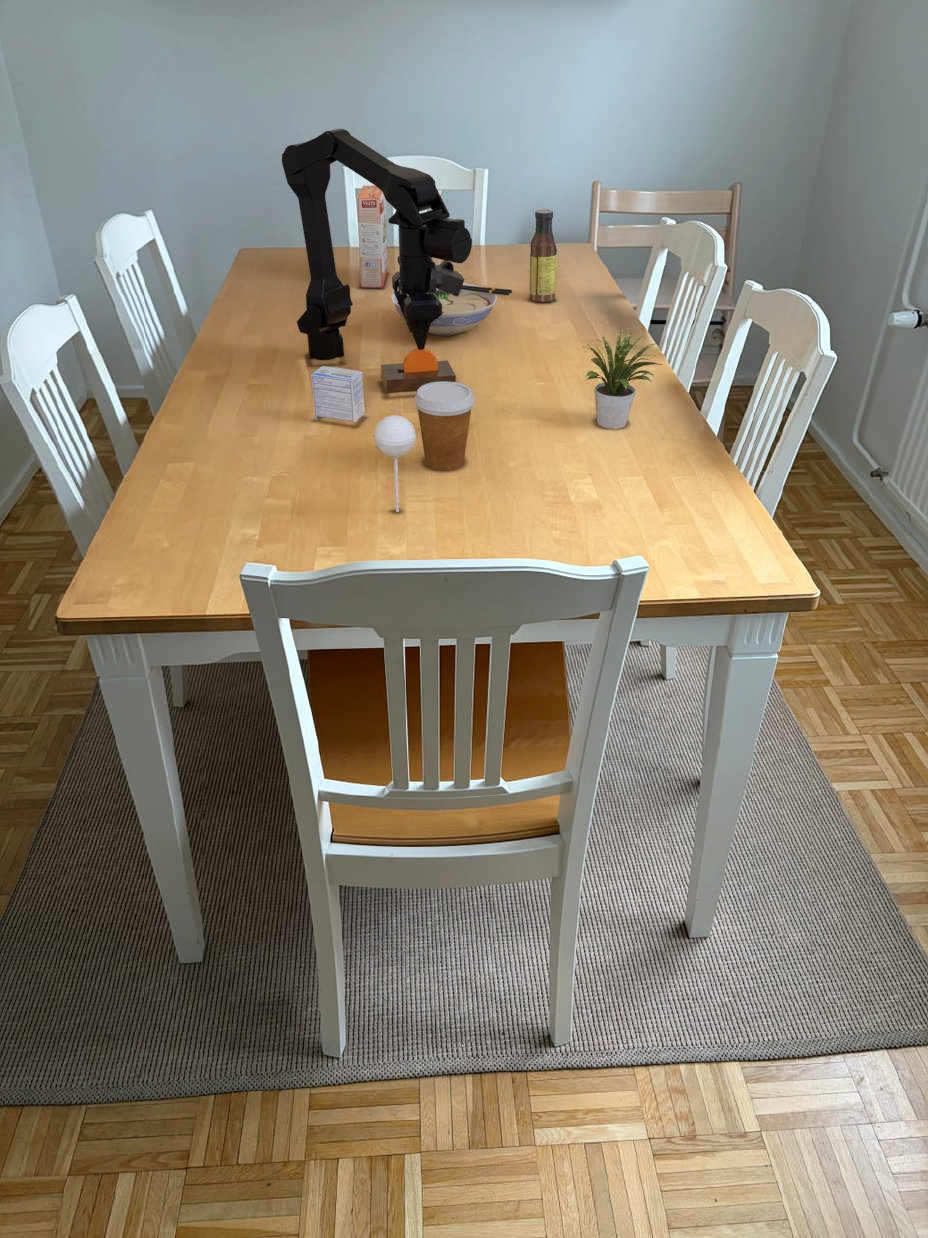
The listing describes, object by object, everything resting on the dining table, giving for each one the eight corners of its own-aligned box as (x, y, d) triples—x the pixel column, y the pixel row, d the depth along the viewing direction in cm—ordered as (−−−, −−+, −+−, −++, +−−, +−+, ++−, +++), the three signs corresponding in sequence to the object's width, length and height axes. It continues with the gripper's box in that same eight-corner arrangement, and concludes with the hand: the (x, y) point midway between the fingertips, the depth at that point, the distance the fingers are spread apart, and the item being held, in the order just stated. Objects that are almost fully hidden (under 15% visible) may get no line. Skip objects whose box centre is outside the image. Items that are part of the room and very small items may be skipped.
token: (401, 382, 179) (406, 348, 175) (400, 379, 180) (405, 346, 176) (435, 385, 181) (440, 351, 177) (434, 382, 182) (439, 349, 178)
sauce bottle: (559, 298, 227) (565, 209, 216) (547, 305, 223) (552, 215, 211) (535, 293, 230) (540, 206, 218) (523, 300, 226) (527, 211, 214)
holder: (387, 398, 177) (386, 380, 175) (381, 382, 183) (380, 364, 181) (455, 393, 179) (455, 375, 177) (447, 377, 185) (447, 360, 183)
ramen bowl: (369, 339, 203) (367, 300, 198) (413, 308, 220) (413, 272, 215) (478, 355, 195) (479, 316, 190) (515, 322, 212) (517, 285, 208)
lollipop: (377, 501, 144) (373, 408, 135) (416, 500, 144) (414, 407, 136) (377, 522, 139) (373, 426, 130) (418, 520, 139) (416, 425, 131)
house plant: (595, 448, 160) (605, 353, 151) (552, 417, 170) (558, 327, 160) (664, 432, 165) (677, 340, 156) (618, 404, 175) (628, 315, 166)
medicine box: (365, 417, 169) (363, 370, 164) (355, 427, 166) (352, 379, 161) (325, 411, 171) (321, 364, 166) (314, 420, 168) (310, 373, 163)
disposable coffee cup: (453, 480, 150) (453, 408, 143) (403, 465, 154) (401, 394, 147) (484, 458, 156) (486, 388, 150) (436, 444, 161) (435, 375, 154)
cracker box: (384, 288, 232) (381, 196, 220) (359, 288, 232) (355, 196, 220) (389, 272, 243) (386, 184, 231) (365, 272, 243) (361, 184, 231)
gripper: (471, 265, 161) (470, 355, 170) (450, 237, 175) (450, 322, 184) (406, 268, 159) (408, 359, 168) (390, 240, 173) (393, 325, 183)
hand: (416, 340), depth 176 cm, fingers open, 9 cm apart
